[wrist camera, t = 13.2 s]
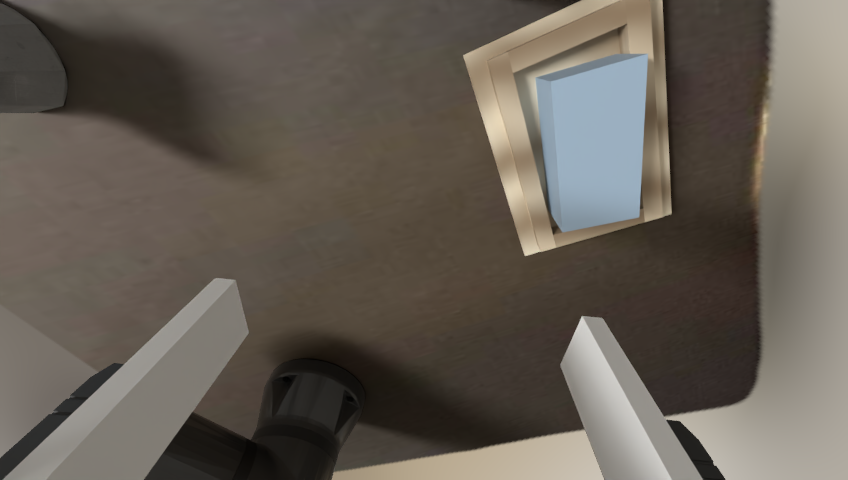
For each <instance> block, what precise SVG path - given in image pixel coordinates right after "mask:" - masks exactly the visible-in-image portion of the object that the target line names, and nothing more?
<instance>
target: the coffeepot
mask: <svg viewBox="0 0 848 480" xmlns="http://www.w3.org/2000/svg"><path fill="white" fill-rule="evenodd" d="M67 90H68V84H67V77H66V73H65V69H64V67H63V64H62V62H61V59H60V58H59V56H58V54H57V52H56V51H55V49H54V47H53V46H52V45H51V43H50V42H49V41H48V39H47V38H46V37H45V36H44V35H43V33H42V32H41V31H40V30H39V29H38V28H37V27H36V26H35V24H34V23H32V22H31V21H30V20H28V19H27V18H26V17H24V16H23V15H21V14H20V13H19V12H17V11H16V10H14V9H12V8H10V7H8V6H6V5H4V4H2V3H0V113H36V112H40V111H44V110H49V109H53V108H57V107H61V106H63V105H64V102H65V99H66V95H67Z"/></svg>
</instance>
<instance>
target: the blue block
mask: <svg viewBox="0 0 848 480" xmlns="http://www.w3.org/2000/svg"><path fill="white" fill-rule="evenodd" d="M647 64H648V54H614V55H611V56H607V57H604V58H600V59H597V60H593V61H590V62H587V63H583V64H580V65H576V66H573V67H570V68H566V69H563V70H559V71H556V72H553V73H549V74H546V75H542V76H539V77H535V79H536V89H537V100H538V110H539V120H540V130H541V140H542V150H543V160H544V170H545V181H546V191H547V201H548V210H549V212H550V214H551V215H552V217H553V218H554V220H555V221H556V223H557V225H558V226H559V228H560V229H561V231H562V232H568V231H573V230H578V229H583V228H588V227H593V226H598V225H603V224H608V223H613V222H619V221H624V220H629V219H634V218H639V213H640V194H641V176H642V157H643V138H644V120H645V101H646V83H647Z"/></svg>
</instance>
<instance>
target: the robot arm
mask: <svg viewBox="0 0 848 480" xmlns="http://www.w3.org/2000/svg"><path fill="white" fill-rule="evenodd" d="M248 333H249V331H248V327H247V324H246V320H245V316H244V312H243V308H242V304H241V300H240V296H239V292H238V288H237V284H236V280H230V279H220V278H215V279H214V280H213V281H212V282H211V283H209V284H208V285H207V286H206V287H205V288H204V289H203V290H202V291H201V292H200V293H199V294H198V295H197V296H196V297H195V298H194V299H193V300H192V301H191V302H189V303H188V304H187V305H186V306H185V307H184V308H183V309H182V310H181V311H180V312H179V313H178V314H177V315H176V316H175V317H174V318H173V319H172V320H170V321H169V322H168V323H167V324H166V325H165V326H164V327H163V328H162V329H161V330H160V331H159V332H158V333H157V334H156V335H155V336H154V337H153V338H151V339H150V340H149V341H148V342H147V343H146V344H145V345H144V346H143V347H142V348H141V349H140V350H139V351H138V352H137V353H136V354H135V355H134V356H133V357H131V358H130V359H129V360H128V361H127V362H126V363H125V364H118V363H113V364H112V365H110V366H109V367H107V368H105V369H104V370H102V371H100V372H99V373H97V374H95V375H94V376H92V377H90V378H89V379H88V380H87V381H86V382H85V383H84V384H82V385H81V386H80V387H79V388H78V389H77V390H76V391H75V392H74V393H72V394H71V396H70V398H69V399H66V400H65V401H63V402H62V403H61V404H60V405H59V406H58V407H57V408H56V409H55V410H54V412H53V413H52V414H49V415H48V416H47V417H46V418H45V419H43V421H41V422H40V423H39V424H38V425H37V426H36V427H34V428H33V429H32V430H31V431H30V432H29V433H28V434H27V435H26V436H24V437H23V438H22V439H21V440H20V441H19V442H18V443H17V444H15V445H14V446H13V447H12V448H11V449H10V450H9V451H8V452H6V453H5V454H4V455H3V456H2V457H1V458H0V480H331V479H332V476H333V472H334V468H335V465H336V461H337V458H338V454H339V451H340V450H341V448H342V446H343V445H344V443H345V441H346V440H347V438H348V436H349V435H350V433H351V431H352V430H353V428H354V426H355V425H356V423H357V422H358V420H359V418H360V416H361V413H362V410H363V406H364V402H365V393H364V390H363V387H362V386H361V384H360V383H359V381H358V380H357V379H356V378H355V377H354V376H353V375H351V374H350V373H349V372H347V371H346V370H344V369H342V368H340V367H338V366H336V365H333V364H331V363H327V362H324V361H319V360H312V359H298V360H292V361H288V362H285V363H283V364H281V365H279V366H278V367H277V368H276V369H275V370H274V371H273V373H272V374H271V376H270V378H269V380H268V381H267V383H266V385H265V388H264V392H263V398H262V403H261V408H260V413H259V419H258V424H257V428H256V431H255V433H254V435H253V437H252V439H251V440H249V439H247V438H245V437H243V436H241V435H239V434H237V433H235V432H233V431H231V430H229V429H226V428H224V427H222V426H220V425H218V424H216V423H214V422H212V421H210V420H208V419H206V418H204V417H202V416H200V415H198V414H196V413H194V412H193V410H194V409H195V407H196V406H197V405H198V403H199V402H200V400H201V399H202V398H203V396H204V395H205V393H206V392H207V391H208V389H209V388H210V386H211V385H212V384H213V382H214V381H215V379H216V378H217V377H218V375H219V374H220V372H221V371H222V370H223V368H224V367H225V366H226V364H227V363H228V361H229V360H230V359H231V357H232V356H233V354H234V353H235V352H236V350H237V349H238V347H239V346H240V345H241V343H242V342H243V340H244V339H245V338H246V336H247V335H248ZM560 366H561V369H562V371H563V374H564V376H565V379H566V382H567V384H568V387H569V389H570V392H571V395H572V397H573V400H574V402H575V405H576V407H577V410H578V413H579V415H580V418H581V420H582V423H583V426H584V428H585V431H586V433H587V436H588V438H589V441H590V443H591V446H592V449H593V451H594V454H595V457H596V459H597V462H598V464H599V467H600V469H601V472H602V475H603V477H604V480H725V478H724V477H723V475H722V474H721V472H720V471H719V469H718V468H717V466H714V464H713V460H712V459H711V457H710V456H709V454H708V453H707V452H706V450H705V449H704V447H703V446H702V444H701V443H700V441H699V440H698V439H697V438H696V437H695V436H694V435H693V434H692V433H691V432H690V431H689V430H688V429H687V428H686V427H685V426H684V425H683V424H682V423H681V422H680V421H672V420H666V419H665V418H664V416H663V415H662V413H661V411H660V410H659V408H658V407H657V405H656V403H655V402H654V400H653V399H652V397H651V395H650V394H649V392H648V390H647V389H646V387H645V386H644V384H643V382H642V381H641V379H640V378H639V376H638V374H637V373H636V371H635V370H634V368H633V366H632V365H631V363H630V362H629V360H628V358H627V357H626V355H625V354H624V352H623V350H622V349H621V347H620V346H619V344H618V342H617V341H616V339H615V338H614V336H613V334H612V333H611V331H610V329H609V328H608V326H607V325H606V323H605V321H604V320H603V318H596V317H586V316H582V318H581V320H580V322H579V324H578V327H577V329H576V331H575V333H574V336H573V338H572V340H571V342H570V344H569V347H568V349H567V351H566V353H565V356H564V358H563V360H562V362H561V365H560Z"/></svg>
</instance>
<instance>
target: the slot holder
mask: <svg viewBox="0 0 848 480" xmlns="http://www.w3.org/2000/svg"><path fill="white" fill-rule="evenodd" d="M614 54H648V64H647V83H646V101H645V120H644V138H643V157H642V176H641V194H640V213H639V218H634V219H629V220H624V221H619V222H613V223H608V224H603V225H598V226H593V227H588V228H583V229H578V230H573V231H568V232H562V231H561V229H560V228H559V226H558V225H557V223H556V221H555V220H554V218H553V217H552V215H551V214H550V212H549V210H548V201H547V191H546V181H545V170H544V160H543V150H542V140H541V130H540V120H539V110H538V100H537V89H536V79H535V77H539V76H542V75H546V74H549V73H553V72H556V71H559V70H563V69H566V68H570V67H573V66H576V65H580V64H583V63H587V62H590V61H593V60H597V59H600V58H604V57H607V56H611V55H614ZM463 57H464V60H465V63H466V67H467V70H468V73H469V76H470V80H471V83H472V86H473V89H474V93H475V96H476V99H477V102H478V106H479V109H480V112H481V115H482V119H483V122H484V125H485V128H486V132H487V135H488V138H489V141H490V145H491V148H492V151H493V155H494V158H495V161H496V164H497V168H498V171H499V174H500V177H501V181H502V184H503V187H504V190H505V194H506V197H507V200H508V203H509V207H510V210H511V213H512V216H513V220H514V223H515V226H516V229H517V233H518V236H519V239H520V242H521V246H522V249H523V252H524V254H525V256H527V255H530V254H534V253H537V252H543V251H546V250H550V249H553V248H557V247H560V246H564V245H567V244H571V243H574V242H578V241H581V240H585V239H588V238H592V237H595V236H599V235H602V234H606V233H609V232H613V231H616V230H620V229H623V228H627V227H630V226H634V225H637V224H641V223H644V222H648V221H651V220H655V219H658V218H662V217H663V216H667V215H670V214H672V210H671V187H670V164H669V141H668V118H667V95H666V71H665V48H664V25H663V2H662V0H581V1H579V2H576V3H574V4H572V5H570V6H568V7H566V8H564V9H561V10H559V11H557V12H555V13H553V14H551V15H549V16H546V17H544V18H542V19H540V20H538V21H536V22H534V23H531V24H529V25H527V26H525V27H523V28H521V29H519V30H516V31H514V32H512V33H510V34H508V35H506V36H504V37H501V38H499V39H497V40H495V41H493V42H491V43H489V44H486V45H484V46H482V47H480V48H478V49H476V50H474V51H471V52H469V53H467V54H465V55H463Z"/></svg>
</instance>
